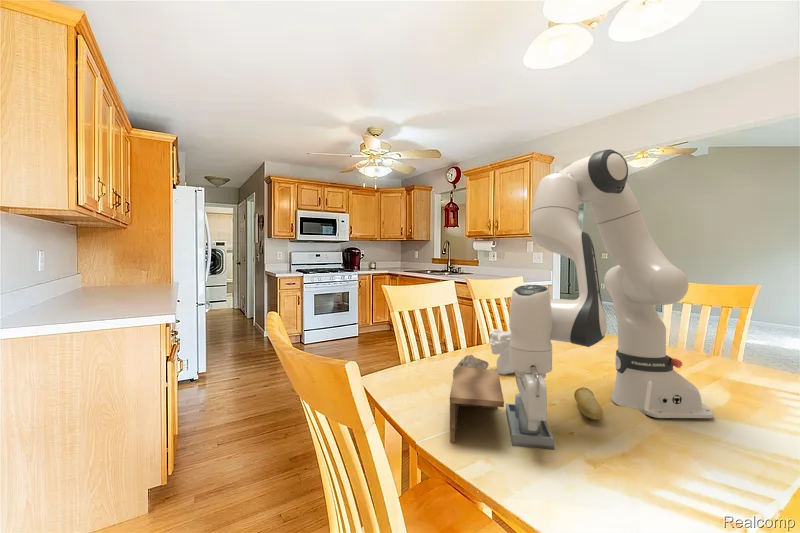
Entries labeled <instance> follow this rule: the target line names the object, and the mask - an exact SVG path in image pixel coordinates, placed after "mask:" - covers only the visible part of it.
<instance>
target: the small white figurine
mask: <svg viewBox="0 0 800 533" xmlns="http://www.w3.org/2000/svg"><path fill="white" fill-rule="evenodd" d="M510 339H511V330H510V329H509V330H507V331H505V330H502V329H498V328H495V329H493V330H490V331H489V345H490V350H491V354H493V355H499V356H498V357H497V358H496V370H498V374H499V375H502V376H503V375H504V376H506V375H510V374H515V370H514V369H512V368H510V366H509V342H510Z"/></svg>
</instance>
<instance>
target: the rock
mask: <svg viewBox="0 0 800 533" xmlns="http://www.w3.org/2000/svg"><path fill="white" fill-rule="evenodd" d="M489 364H490V363H489V362H488V361H486V360H483V359H481V358H477V357H475V356H474V355H473V354H469V355H468V354H467V355H466V356H463V358H462V359H461V360H460V361H459V362H458V364H457V365H456V366H455V367H454V369H453V370H452V371H453V372H452V379H453V378H454V373H455V368H456V367H458V368H475V369H488V367H489Z"/></svg>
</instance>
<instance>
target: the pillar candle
mask: <svg viewBox="0 0 800 533" xmlns="http://www.w3.org/2000/svg"><path fill="white" fill-rule="evenodd" d="M527 419H528V417H527V414H526V411H525V408H524V405H523V404H521V405H519V431H520V432H522V433H524V434H527V435H538V434H540V420H538V422H537V430H536V431H531V430H529V429H528V426H527Z"/></svg>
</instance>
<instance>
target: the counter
mask: <svg viewBox="0 0 800 533" xmlns="http://www.w3.org/2000/svg"><path fill="white" fill-rule="evenodd" d="M455 367H456V366H455ZM455 367H454V369H455V373H454V378H453V377H452V383H451V384H452V385H451V389H450V394H449V442H450V443H453V444H454V443H455V442H456V435H457V426H458V417H459V410H460V407H469V408H477V409H478V408H480V409H492V410H493V409H494V410H498V409H499V408H505V399H504V394H503V390H502V384H501V380H500V374H499V373H498V370H497V369H491V368H490V369H489V368H487V369H475V368H458V367H456V368H455Z"/></svg>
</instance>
